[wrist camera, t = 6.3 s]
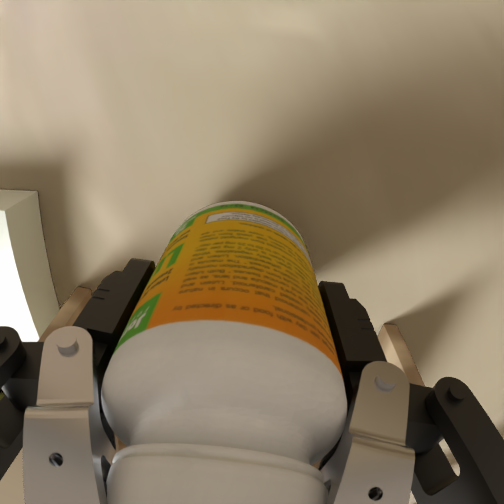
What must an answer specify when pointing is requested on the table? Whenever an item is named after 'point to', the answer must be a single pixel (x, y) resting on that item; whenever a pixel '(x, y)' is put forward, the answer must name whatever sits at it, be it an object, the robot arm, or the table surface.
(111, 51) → the table surface
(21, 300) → the plastic tray
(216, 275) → the supplement bottle
